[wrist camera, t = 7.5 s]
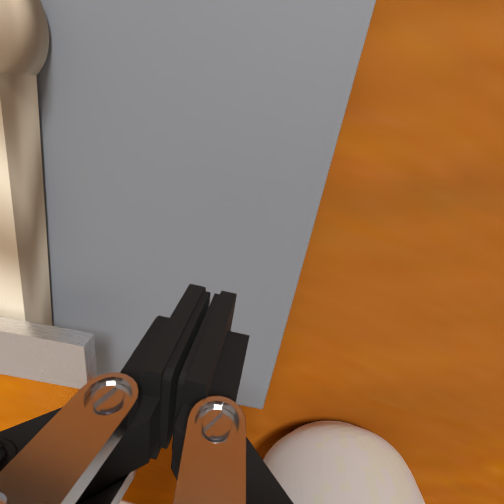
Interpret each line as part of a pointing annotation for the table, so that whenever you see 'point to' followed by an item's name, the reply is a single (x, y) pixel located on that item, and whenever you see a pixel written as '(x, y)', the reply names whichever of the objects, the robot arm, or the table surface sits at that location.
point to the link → (22, 164)
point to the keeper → (46, 353)
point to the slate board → (188, 159)
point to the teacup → (340, 467)
